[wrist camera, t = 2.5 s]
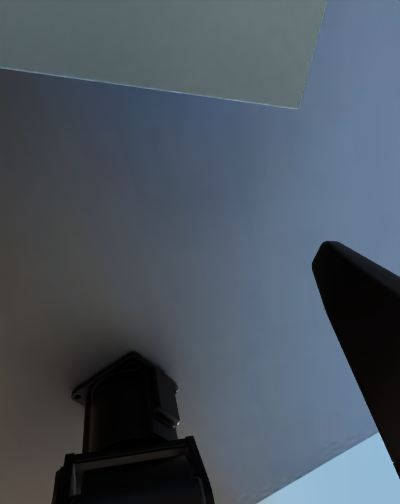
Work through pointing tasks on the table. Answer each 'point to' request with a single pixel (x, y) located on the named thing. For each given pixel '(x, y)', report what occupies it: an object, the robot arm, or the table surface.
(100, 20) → the compartment lid
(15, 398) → the table surface
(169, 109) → the table surface
